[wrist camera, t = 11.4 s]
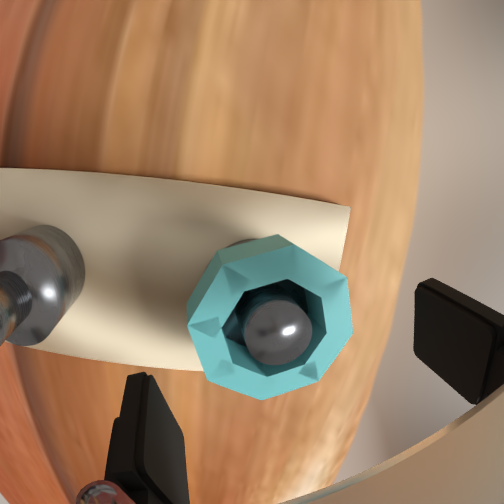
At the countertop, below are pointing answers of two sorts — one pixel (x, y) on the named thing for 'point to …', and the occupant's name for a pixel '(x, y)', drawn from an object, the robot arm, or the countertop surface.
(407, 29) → the countertop surface
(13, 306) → the stand
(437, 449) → the robot arm
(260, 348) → the knob
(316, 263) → the teal octagonal collar
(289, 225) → the base board
